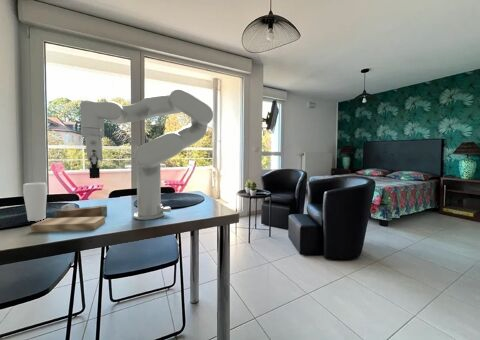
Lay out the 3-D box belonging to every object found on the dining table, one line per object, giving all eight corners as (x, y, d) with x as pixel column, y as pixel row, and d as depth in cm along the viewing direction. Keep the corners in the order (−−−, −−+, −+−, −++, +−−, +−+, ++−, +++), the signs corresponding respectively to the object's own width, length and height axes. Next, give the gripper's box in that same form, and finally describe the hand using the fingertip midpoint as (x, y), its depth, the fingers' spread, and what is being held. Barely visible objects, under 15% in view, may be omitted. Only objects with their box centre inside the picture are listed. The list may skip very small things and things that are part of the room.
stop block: (75, 211, 98) (74, 203, 97) (68, 215, 93) (67, 206, 93) (69, 212, 97) (68, 203, 97) (62, 215, 92) (61, 206, 92)
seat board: (106, 221, 85) (106, 215, 85) (94, 229, 76) (94, 223, 76) (50, 223, 82) (49, 217, 82) (31, 232, 73) (30, 225, 73)
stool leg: (54, 222, 82) (53, 211, 82) (55, 220, 85) (54, 209, 84) (107, 215, 92) (106, 205, 92) (106, 213, 95) (106, 204, 94)
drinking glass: (33, 223, 82) (31, 185, 80) (20, 221, 83) (17, 184, 82) (52, 218, 88) (50, 182, 87) (39, 216, 90) (37, 181, 88)
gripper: (105, 132, 79) (106, 178, 80) (103, 135, 93) (104, 174, 95) (80, 131, 75) (82, 180, 76) (82, 134, 89) (84, 175, 90)
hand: (94, 176), depth 85 cm, fingers open, 8 cm apart
